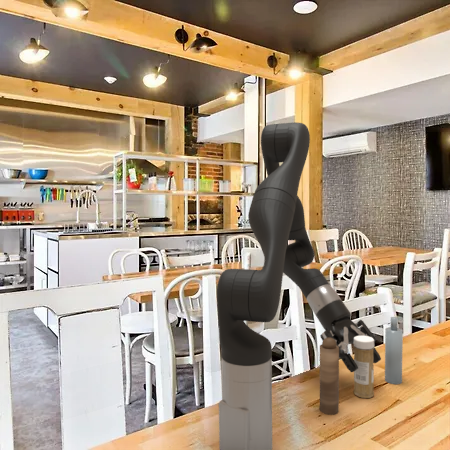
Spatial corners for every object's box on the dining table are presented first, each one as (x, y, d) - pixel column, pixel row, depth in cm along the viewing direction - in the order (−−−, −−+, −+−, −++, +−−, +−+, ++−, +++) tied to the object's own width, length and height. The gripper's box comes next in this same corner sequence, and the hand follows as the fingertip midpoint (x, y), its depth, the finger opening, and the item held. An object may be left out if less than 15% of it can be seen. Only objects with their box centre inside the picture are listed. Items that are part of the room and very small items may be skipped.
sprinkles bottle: (378, 395, 99) (378, 338, 98) (365, 400, 96) (365, 342, 96) (361, 388, 103) (362, 333, 102) (349, 393, 100) (349, 337, 99)
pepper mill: (333, 416, 90) (333, 342, 89) (316, 410, 92) (316, 338, 91) (341, 409, 93) (342, 337, 92) (324, 403, 95) (324, 333, 94)
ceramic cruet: (399, 385, 104) (399, 321, 103) (382, 381, 106) (383, 318, 105) (404, 380, 107) (405, 317, 106) (387, 376, 109) (388, 314, 108)
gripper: (316, 303, 100) (357, 366, 92) (354, 294, 109) (395, 351, 100) (300, 320, 105) (337, 381, 97) (338, 310, 113) (375, 366, 105)
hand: (366, 365), depth 98 cm, fingers open, 8 cm apart
